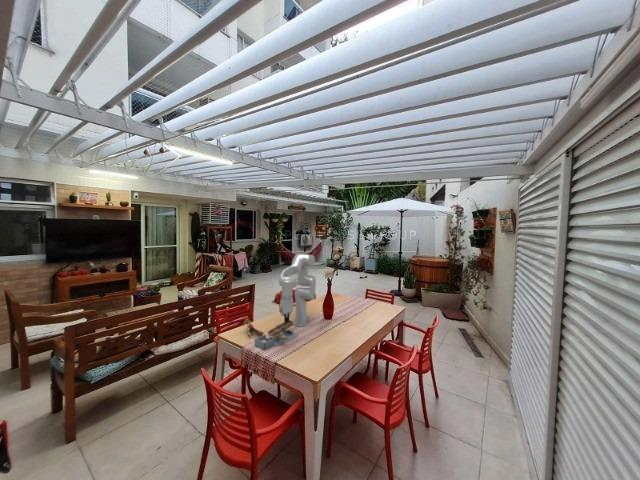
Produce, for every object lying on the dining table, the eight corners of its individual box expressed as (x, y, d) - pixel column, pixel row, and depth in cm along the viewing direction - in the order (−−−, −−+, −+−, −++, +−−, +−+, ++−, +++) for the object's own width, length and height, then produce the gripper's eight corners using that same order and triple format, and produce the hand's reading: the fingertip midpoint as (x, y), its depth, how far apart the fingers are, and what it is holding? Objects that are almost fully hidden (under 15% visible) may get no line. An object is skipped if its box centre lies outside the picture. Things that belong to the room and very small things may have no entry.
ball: (265, 340, 180) (262, 338, 178) (268, 341, 178) (265, 340, 176) (262, 345, 179) (259, 343, 176) (265, 346, 176) (262, 345, 174)
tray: (264, 340, 185) (265, 334, 184) (274, 345, 178) (274, 338, 178) (254, 345, 178) (254, 338, 177) (264, 350, 171) (264, 343, 171)
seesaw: (287, 322, 199) (287, 319, 199) (301, 328, 190) (301, 324, 189) (268, 334, 184) (267, 330, 184) (282, 341, 175) (282, 337, 174)
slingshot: (260, 328, 206) (267, 329, 194) (253, 340, 201) (259, 341, 188) (244, 317, 201) (250, 317, 189) (236, 328, 196) (242, 329, 184)
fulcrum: (286, 331, 201) (286, 321, 201) (297, 336, 194) (297, 325, 193) (265, 340, 185) (265, 329, 184) (276, 346, 177) (276, 334, 177)
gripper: (291, 293, 185) (290, 317, 187) (275, 298, 174) (275, 323, 176) (298, 295, 181) (297, 320, 182) (282, 300, 169) (282, 326, 171)
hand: (286, 321), depth 179 cm, fingers closed
